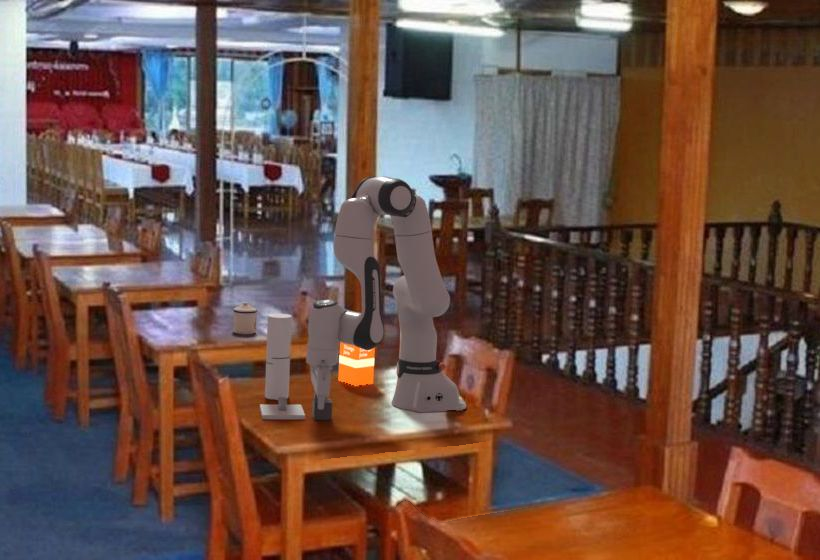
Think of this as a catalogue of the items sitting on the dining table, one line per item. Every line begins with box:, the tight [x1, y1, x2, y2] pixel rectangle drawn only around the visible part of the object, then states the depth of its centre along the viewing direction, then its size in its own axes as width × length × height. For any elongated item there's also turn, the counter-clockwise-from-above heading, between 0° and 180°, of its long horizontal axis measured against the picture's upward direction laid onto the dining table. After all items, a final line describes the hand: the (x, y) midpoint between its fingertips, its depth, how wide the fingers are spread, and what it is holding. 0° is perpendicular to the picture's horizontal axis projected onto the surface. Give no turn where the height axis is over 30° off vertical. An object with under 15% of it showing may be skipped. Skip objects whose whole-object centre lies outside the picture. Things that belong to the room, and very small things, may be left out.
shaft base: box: [259, 397, 306, 420], centre depth 345 cm, size 12×12×5 cm
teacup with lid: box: [232, 301, 258, 335], centre depth 463 cm, size 12×9×12 cm
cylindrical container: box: [264, 313, 292, 401], centre depth 363 cm, size 7×7×25 cm
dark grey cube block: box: [311, 397, 333, 421], centre depth 343 cm, size 5×5×5 cm
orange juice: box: [337, 342, 376, 387], centre depth 388 cm, size 8×9×20 cm
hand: (319, 404), depth 343 cm, fingers open, 8 cm apart
